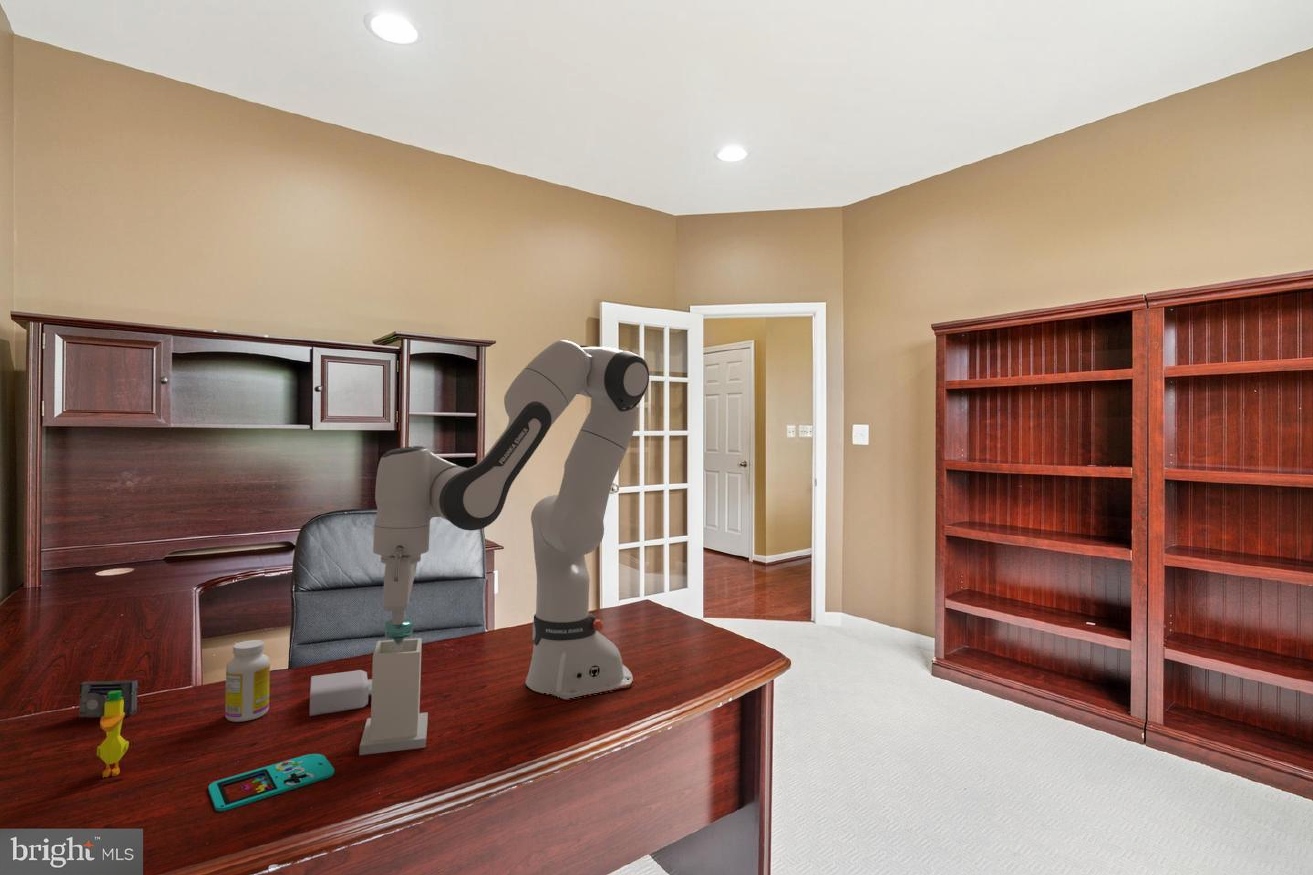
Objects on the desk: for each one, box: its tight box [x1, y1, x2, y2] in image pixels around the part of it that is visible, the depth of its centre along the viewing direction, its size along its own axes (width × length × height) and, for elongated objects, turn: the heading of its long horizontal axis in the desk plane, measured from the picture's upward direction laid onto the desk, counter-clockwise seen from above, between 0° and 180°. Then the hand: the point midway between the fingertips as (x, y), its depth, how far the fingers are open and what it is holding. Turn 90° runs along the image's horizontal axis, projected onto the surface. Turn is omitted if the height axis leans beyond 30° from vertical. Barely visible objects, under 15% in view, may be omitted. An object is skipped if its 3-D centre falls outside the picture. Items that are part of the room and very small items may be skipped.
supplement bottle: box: [224, 639, 271, 723], centre depth 113 cm, size 7×7×13 cm
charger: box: [309, 669, 372, 717], centre depth 121 cm, size 5×9×15 cm
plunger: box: [384, 618, 414, 653], centre depth 107 cm, size 5×5×12 cm
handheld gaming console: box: [208, 753, 335, 812], centre depth 93 cm, size 8×1×15 cm
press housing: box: [358, 637, 429, 756], centre depth 107 cm, size 10×10×16 cm
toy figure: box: [96, 690, 130, 779], centre depth 93 cm, size 7×4×12 cm, turn 32°
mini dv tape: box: [78, 680, 138, 718], centre depth 112 cm, size 8×2×6 cm, turn 99°
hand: (398, 622), depth 107 cm, fingers closed, pressing on plunger
